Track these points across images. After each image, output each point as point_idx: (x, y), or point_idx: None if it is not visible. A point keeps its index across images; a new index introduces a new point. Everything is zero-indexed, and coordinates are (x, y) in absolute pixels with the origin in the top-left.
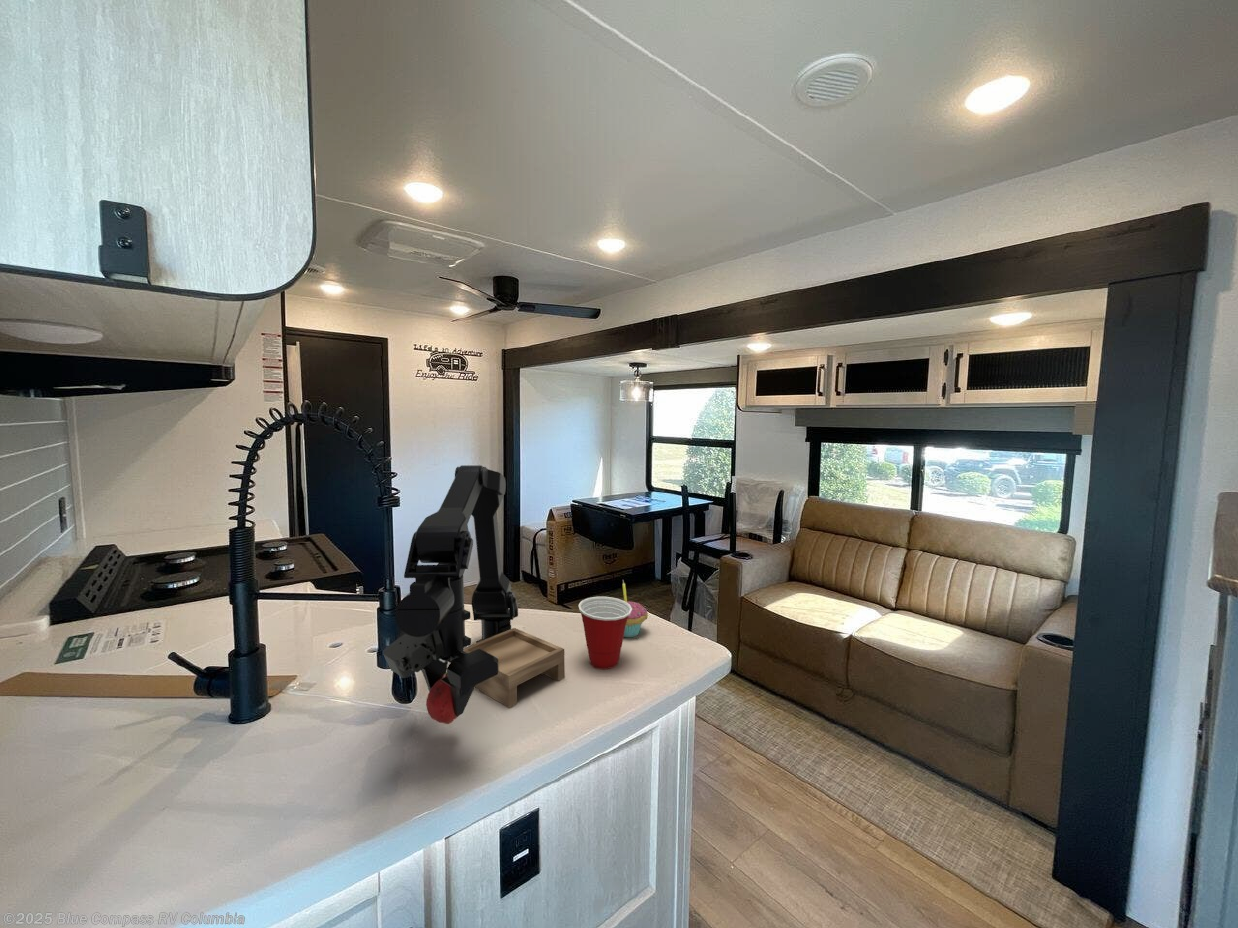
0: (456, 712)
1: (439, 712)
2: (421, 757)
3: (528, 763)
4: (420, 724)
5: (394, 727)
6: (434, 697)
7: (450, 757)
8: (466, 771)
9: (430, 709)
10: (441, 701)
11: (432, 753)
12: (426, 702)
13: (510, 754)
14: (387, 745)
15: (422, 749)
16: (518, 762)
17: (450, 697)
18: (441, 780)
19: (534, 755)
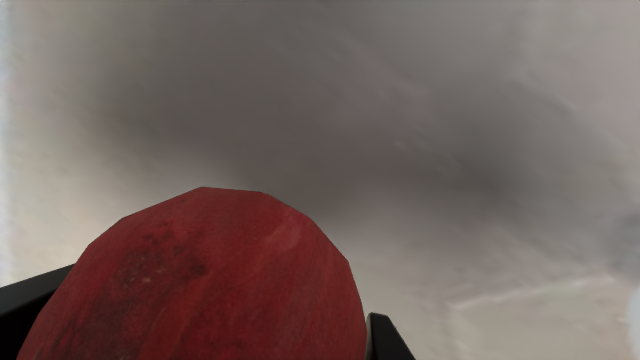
0: (63, 268)
1: (134, 214)
2: (301, 86)
3: (6, 241)
4: (484, 226)
5: (587, 160)
6: (120, 294)
7: (209, 145)
8: (102, 122)
9: (204, 203)
10: (70, 285)
11: (284, 126)
12: (298, 248)
13: (75, 247)
14: (511, 57)
15: (340, 122)
16: (28, 232)
17: (18, 353)
18: (123, 38)
19: (25, 273)
